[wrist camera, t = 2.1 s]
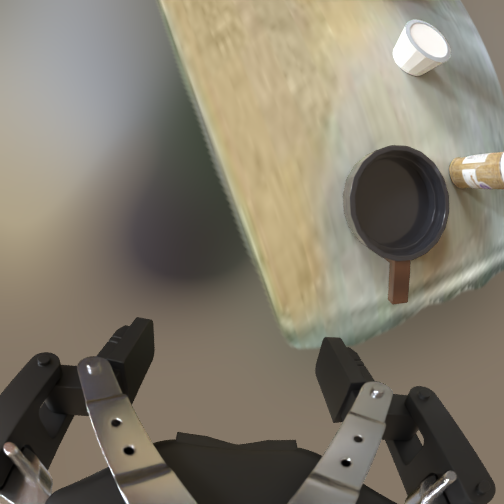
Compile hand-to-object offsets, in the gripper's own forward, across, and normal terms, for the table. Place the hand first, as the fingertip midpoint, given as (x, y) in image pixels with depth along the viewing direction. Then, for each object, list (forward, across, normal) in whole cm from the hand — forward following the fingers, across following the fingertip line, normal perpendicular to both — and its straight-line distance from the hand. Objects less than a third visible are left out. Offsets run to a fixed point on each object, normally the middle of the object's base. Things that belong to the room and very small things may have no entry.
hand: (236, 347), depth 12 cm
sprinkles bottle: (+19, -29, -15) cm, 38 cm away
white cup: (+20, -20, -30) cm, 42 cm away
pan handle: (+20, -20, +1) cm, 28 cm away
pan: (+20, -18, -8) cm, 29 cm away
